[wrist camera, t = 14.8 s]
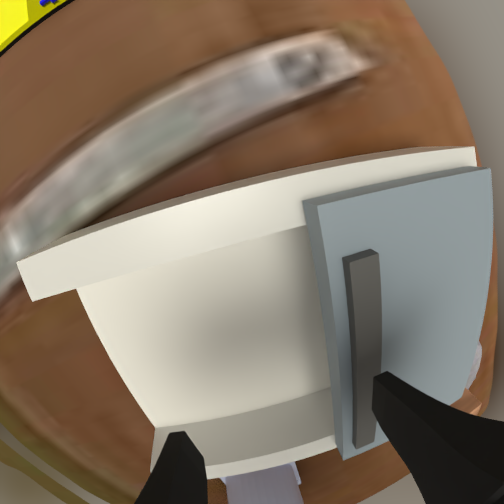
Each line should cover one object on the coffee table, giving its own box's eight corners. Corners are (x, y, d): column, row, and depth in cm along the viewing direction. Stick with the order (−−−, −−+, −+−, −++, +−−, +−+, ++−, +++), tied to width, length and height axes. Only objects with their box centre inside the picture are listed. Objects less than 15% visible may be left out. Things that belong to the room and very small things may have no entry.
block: (450, 405, 21) (471, 427, 17) (421, 424, 21) (440, 449, 17) (458, 380, 20) (481, 403, 16) (427, 400, 19) (450, 427, 16)
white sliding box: (421, 353, 22) (455, 386, 17) (166, 432, 20) (162, 482, 15) (417, 146, 16) (474, 146, 11) (65, 235, 15) (16, 262, 10)
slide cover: (450, 385, 16) (466, 401, 14) (335, 443, 15) (346, 466, 13) (469, 166, 11) (499, 168, 9) (302, 200, 11) (323, 208, 9)
